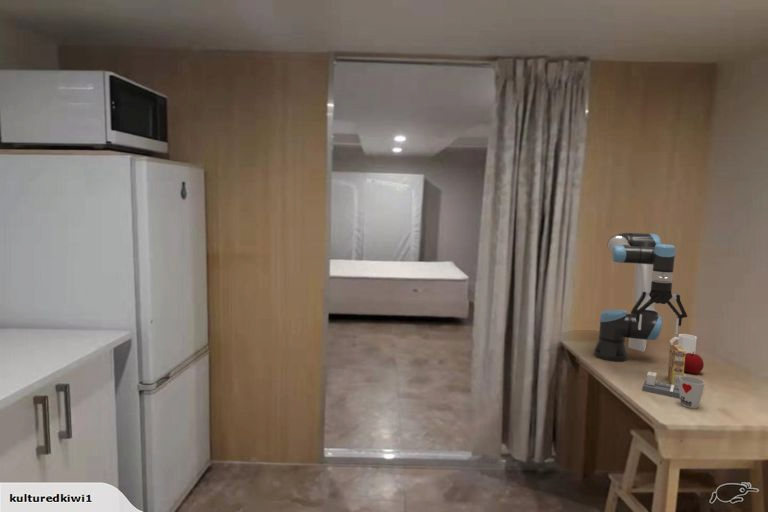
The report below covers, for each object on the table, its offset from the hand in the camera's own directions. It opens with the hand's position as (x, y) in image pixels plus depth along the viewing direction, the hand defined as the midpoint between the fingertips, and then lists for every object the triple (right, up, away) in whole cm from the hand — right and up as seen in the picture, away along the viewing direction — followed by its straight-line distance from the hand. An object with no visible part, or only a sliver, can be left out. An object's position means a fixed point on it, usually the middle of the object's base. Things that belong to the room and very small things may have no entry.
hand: (657, 331), depth 206 cm
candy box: (+9, -23, +3) cm, 24 cm away
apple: (+25, -21, +17) cm, 37 cm away
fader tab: (-6, -21, -5) cm, 22 cm away
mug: (+37, -19, +43) cm, 60 cm away
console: (0, -23, -9) cm, 25 cm away
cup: (0, -25, -21) cm, 33 cm away
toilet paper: (+19, -17, +52) cm, 58 cm away
